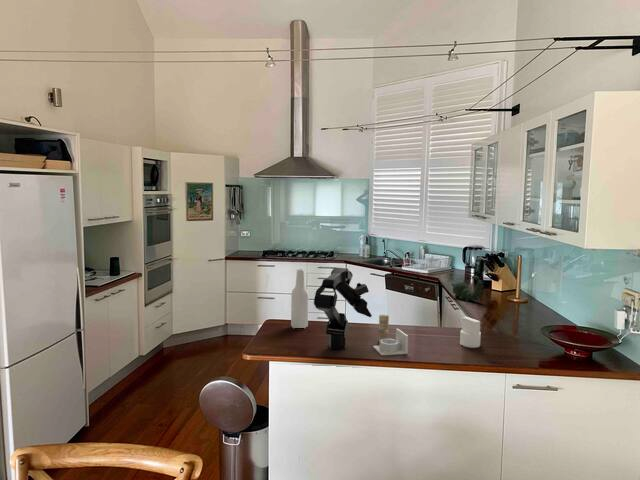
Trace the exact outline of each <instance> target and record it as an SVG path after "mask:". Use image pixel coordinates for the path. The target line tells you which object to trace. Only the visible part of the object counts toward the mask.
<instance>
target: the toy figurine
mask: <svg viewBox="0 0 640 480" xmlns="http://www.w3.org/2000/svg"><path fill="white" fill-rule="evenodd" d="M471 279H472V280H473V279H475V280H476V281H477V283H476V285H475V288H474V291H471V290H470V289H469V288H468V287H467V285H466V284H465V283H464V282H460V281H458V282H456V283H450V285H451V287H452V293H453V294H454V297H455V298H456V299H461V300H463V301H464V300H466V302H469V301H472V302H475V301H477V302H478V301H479V298H482V297H483V294H481V293H483V292H484V290H483V289H482V288H484V285H483V284H485V282H484V281H483V280H481V279H480V277H479V276H477V275H473V276H472V277H471Z"/></svg>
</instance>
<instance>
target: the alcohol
mask: <svg viewBox="0 0 640 480" xmlns="http://www.w3.org/2000/svg"><path fill="white" fill-rule="evenodd" d="M295 273H296V278H295V287H294V288H293V289H292V290H291V295H290V296H291V297H290V298H291V301H290V302H291V303H290V308H291V309H290V326H291V328H292V329H295V328H304V329H307V328H308V326H309V294H310V293H309V291H308V289H307V288H306V285H305V269H304V268H303V269H302V268H297V269H296V272H295ZM306 327H307V328H306Z"/></svg>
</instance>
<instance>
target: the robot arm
mask: <svg viewBox="0 0 640 480" xmlns="http://www.w3.org/2000/svg"><path fill="white" fill-rule="evenodd" d="M353 277H354V276H353V273H352V271H350V270H349V268H346V267H333V269H332V270H331V271H330V275H329V276H327V278H323V279H322V283H321V285H320V286H319V287H318V288H317V289H316V291H315V294H314V298H313V305H314V306H315V308H316V309H317V310H319V311H321V312H322V311H323V312H324V314H325V316H326V318H327V319H328V321H327V323H326V330H325V333H326V335H328V344H327V346H328V348H329V349H330V350H331V351H336V350H346V337H345V336H346V335H347V334H348V330H349V329H348V327H349V321H348V320H347V316H346V314H345V313H342V312H339V311H338V310H337V308H336V306H337V300H338V294H337V292H338V293H339V295H341V297H343V298H344V299H345V301H346V302H347V303H348V305H350V306H351V307H353V308H352V309H354V311H356V313H358V314H361V315H363V316H366V317H369V318H372V317H373V315H372V314H371V312H370V310H369V309H368V301H366V300H365V299H364V298H361V297H362V295H364V294H366V293H369V292H370V291H369V288H368V286H367V284H365V283H360V282H358V283H356V286H355V287H354V288H353V287H352V286H351V285H350V284H351V282H352V279H353ZM325 289H327V290H328V289H329V290H332V291H333V292H334V294H332V295H331V294H322V293H323V292H324V291H325Z"/></svg>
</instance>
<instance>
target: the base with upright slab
mask: <svg viewBox="0 0 640 480" xmlns="http://www.w3.org/2000/svg"><path fill="white" fill-rule="evenodd" d="M461 318H462V320H461V330H460V332H459V334H460V336H459V344H460V345H461V346H462V345H463V346H462V347H465V348H472V349H473V348H474V349H475V348H480V347H481V339H482V338H481V336H482V335H481V334H482V333H481V321H480V320H477V319H474V318H471V317H469V316H463V317H461Z"/></svg>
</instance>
